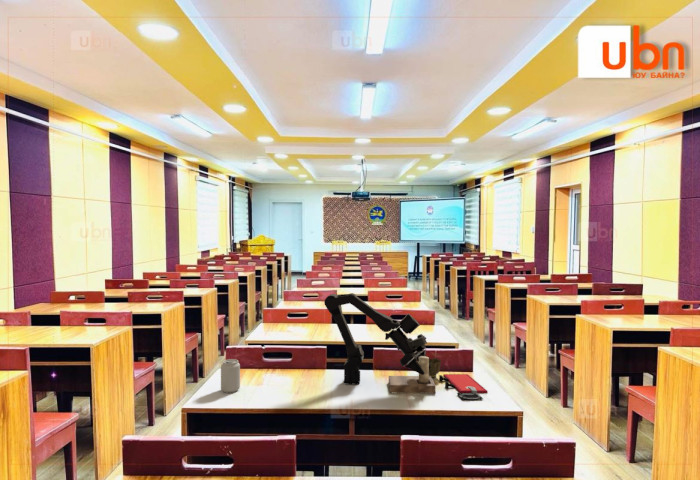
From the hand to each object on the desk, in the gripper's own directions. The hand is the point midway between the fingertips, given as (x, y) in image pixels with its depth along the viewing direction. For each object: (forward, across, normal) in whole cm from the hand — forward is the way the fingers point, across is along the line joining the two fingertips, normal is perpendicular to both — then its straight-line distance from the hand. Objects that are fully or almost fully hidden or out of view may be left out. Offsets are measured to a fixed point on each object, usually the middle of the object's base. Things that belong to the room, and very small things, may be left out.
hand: (427, 371), depth 182 cm
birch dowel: (+4, 0, +6) cm, 8 cm away
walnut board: (+1, -1, +10) cm, 10 cm away
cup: (+4, +16, +7) cm, 18 cm away
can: (-44, -38, +56) cm, 81 cm away
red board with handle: (+15, +10, -3) cm, 18 cm away
